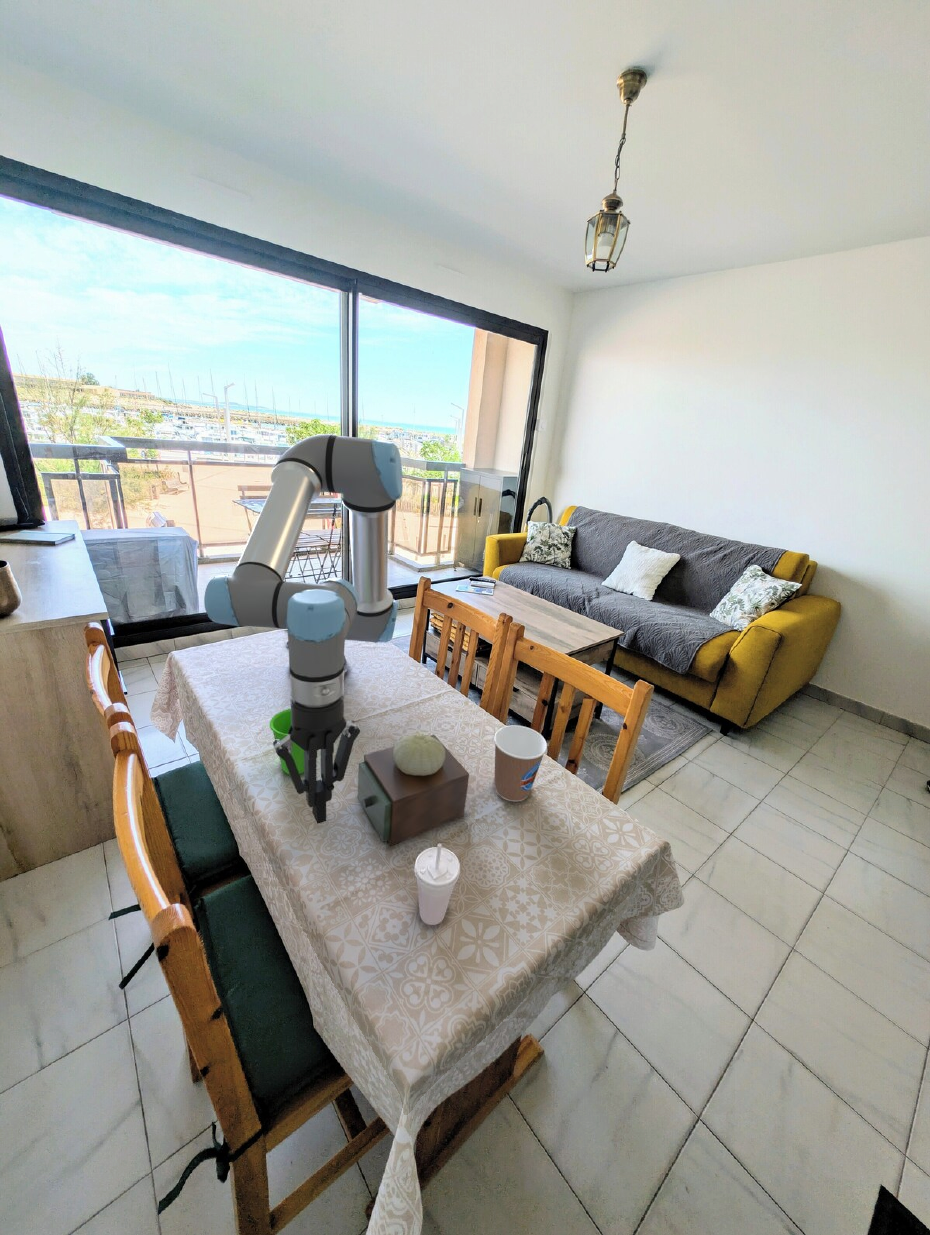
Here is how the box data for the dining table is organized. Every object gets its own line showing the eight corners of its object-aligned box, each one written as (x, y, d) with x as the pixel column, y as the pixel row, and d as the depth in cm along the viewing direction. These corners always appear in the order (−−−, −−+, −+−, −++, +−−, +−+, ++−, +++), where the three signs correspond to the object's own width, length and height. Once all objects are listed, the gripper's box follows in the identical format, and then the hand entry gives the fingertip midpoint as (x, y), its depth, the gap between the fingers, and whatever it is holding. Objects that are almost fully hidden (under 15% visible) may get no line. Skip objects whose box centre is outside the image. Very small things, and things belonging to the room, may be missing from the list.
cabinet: (390, 846, 79) (393, 801, 76) (362, 796, 89) (363, 754, 85) (463, 815, 87) (469, 773, 84) (430, 773, 97) (434, 734, 93)
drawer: (376, 844, 78) (378, 808, 75) (351, 799, 87) (352, 764, 84) (451, 814, 86) (455, 780, 83) (421, 775, 95) (424, 742, 92)
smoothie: (405, 928, 67) (411, 856, 61) (416, 888, 73) (423, 819, 67) (449, 939, 66) (459, 866, 61) (457, 897, 72) (467, 828, 67)
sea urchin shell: (443, 777, 79) (413, 743, 78) (409, 796, 82) (380, 763, 81) (454, 745, 88) (428, 713, 86) (424, 763, 90) (397, 732, 89)
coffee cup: (524, 816, 89) (534, 765, 84) (477, 792, 93) (484, 742, 89) (544, 786, 97) (555, 738, 93) (500, 765, 102) (508, 718, 97)
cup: (278, 788, 89) (276, 740, 85) (267, 759, 96) (264, 714, 92) (325, 773, 94) (325, 727, 90) (311, 747, 100) (311, 703, 96)
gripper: (277, 719, 63) (284, 848, 71) (369, 698, 70) (365, 818, 78) (264, 691, 68) (272, 814, 77) (351, 674, 75) (349, 789, 84)
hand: (319, 816), depth 78 cm, fingers closed
